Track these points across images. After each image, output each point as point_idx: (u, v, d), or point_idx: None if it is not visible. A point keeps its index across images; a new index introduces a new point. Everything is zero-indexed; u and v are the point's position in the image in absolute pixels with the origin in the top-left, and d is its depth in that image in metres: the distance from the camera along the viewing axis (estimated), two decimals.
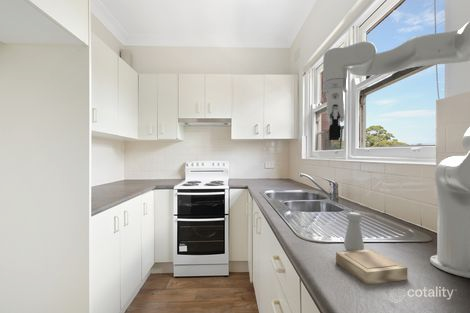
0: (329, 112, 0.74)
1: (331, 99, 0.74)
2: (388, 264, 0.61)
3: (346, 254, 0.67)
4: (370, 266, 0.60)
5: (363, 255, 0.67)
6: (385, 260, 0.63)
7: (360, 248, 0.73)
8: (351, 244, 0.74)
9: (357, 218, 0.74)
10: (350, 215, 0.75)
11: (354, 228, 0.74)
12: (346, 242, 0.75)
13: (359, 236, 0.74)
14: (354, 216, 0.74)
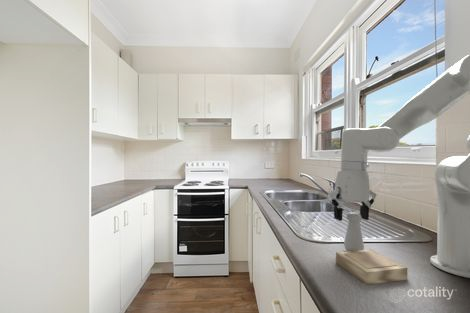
0: None
1: None
2: (388, 264, 0.61)
3: (346, 254, 0.67)
4: (370, 266, 0.60)
5: (363, 255, 0.67)
6: (385, 260, 0.63)
7: (360, 248, 0.73)
8: (351, 244, 0.74)
9: (357, 218, 0.74)
10: (350, 215, 0.75)
11: (354, 228, 0.74)
12: (346, 242, 0.75)
13: (359, 236, 0.74)
14: (354, 216, 0.74)
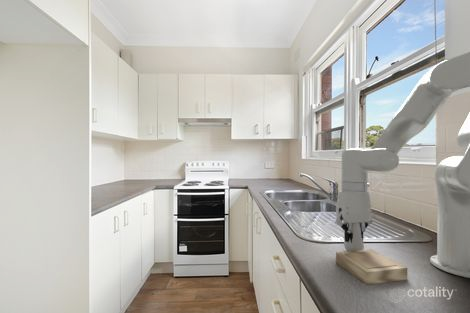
0: None
1: None
2: (388, 264, 0.61)
3: (346, 254, 0.67)
4: (370, 266, 0.60)
5: (363, 255, 0.67)
6: (385, 260, 0.63)
7: (360, 248, 0.73)
8: None
9: None
10: None
11: (354, 228, 0.74)
12: (346, 242, 0.75)
13: (359, 236, 0.74)
14: None
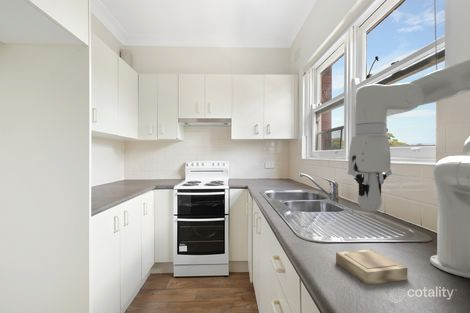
0: None
1: None
2: (388, 264, 0.61)
3: (346, 254, 0.67)
4: (370, 266, 0.60)
5: (363, 255, 0.67)
6: (385, 260, 0.63)
7: (378, 202, 0.62)
8: None
9: None
10: None
11: (370, 179, 0.63)
12: (361, 196, 0.64)
13: (376, 188, 0.62)
14: None
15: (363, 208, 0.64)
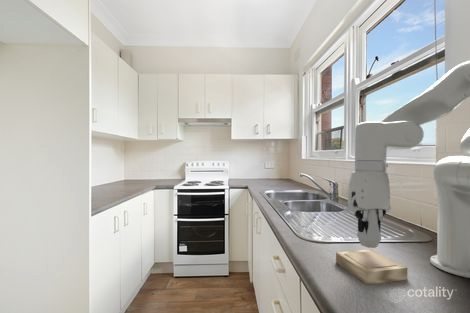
0: None
1: None
2: (388, 264, 0.61)
3: (346, 254, 0.67)
4: (370, 266, 0.60)
5: (363, 255, 0.67)
6: (385, 260, 0.63)
7: (377, 239, 0.62)
8: (367, 234, 0.62)
9: None
10: None
11: (370, 216, 0.63)
12: (360, 232, 0.64)
13: (376, 225, 0.62)
14: None
15: (362, 244, 0.64)
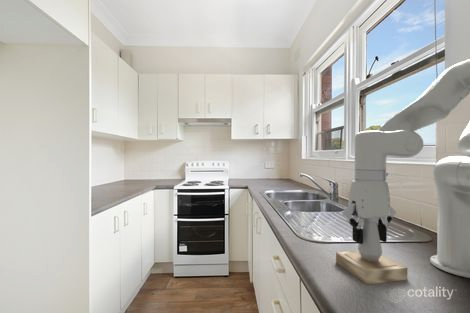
0: None
1: None
2: (388, 264, 0.61)
3: (346, 254, 0.67)
4: (370, 266, 0.60)
5: None
6: (385, 260, 0.63)
7: (378, 253, 0.62)
8: (368, 248, 0.62)
9: (374, 217, 0.62)
10: None
11: (371, 230, 0.63)
12: (361, 246, 0.64)
13: (377, 239, 0.62)
14: None
15: (363, 258, 0.64)
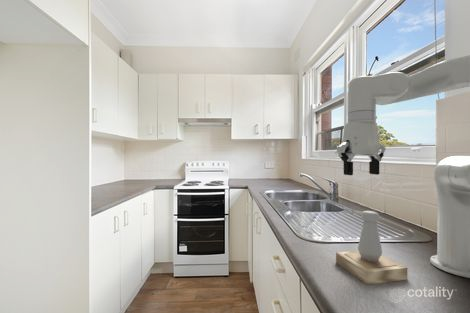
0: None
1: None
2: (388, 264, 0.61)
3: (346, 254, 0.67)
4: (370, 266, 0.60)
5: None
6: (385, 260, 0.63)
7: (378, 253, 0.62)
8: (368, 248, 0.62)
9: (374, 217, 0.62)
10: (366, 214, 0.63)
11: (371, 230, 0.63)
12: (361, 246, 0.64)
13: (377, 239, 0.62)
14: (371, 215, 0.62)
15: (363, 258, 0.64)
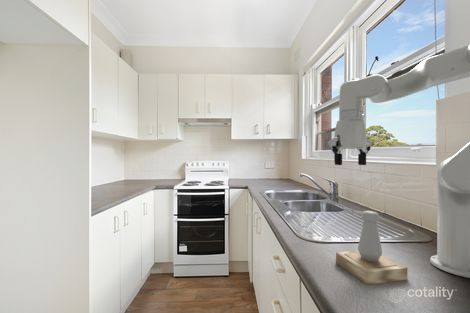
0: None
1: None
2: (388, 264, 0.61)
3: (346, 254, 0.67)
4: (370, 266, 0.60)
5: None
6: (385, 260, 0.63)
7: (378, 253, 0.62)
8: (368, 248, 0.62)
9: (374, 217, 0.62)
10: (366, 214, 0.63)
11: (371, 230, 0.63)
12: (361, 246, 0.64)
13: (377, 239, 0.62)
14: (371, 215, 0.62)
15: (363, 258, 0.64)
